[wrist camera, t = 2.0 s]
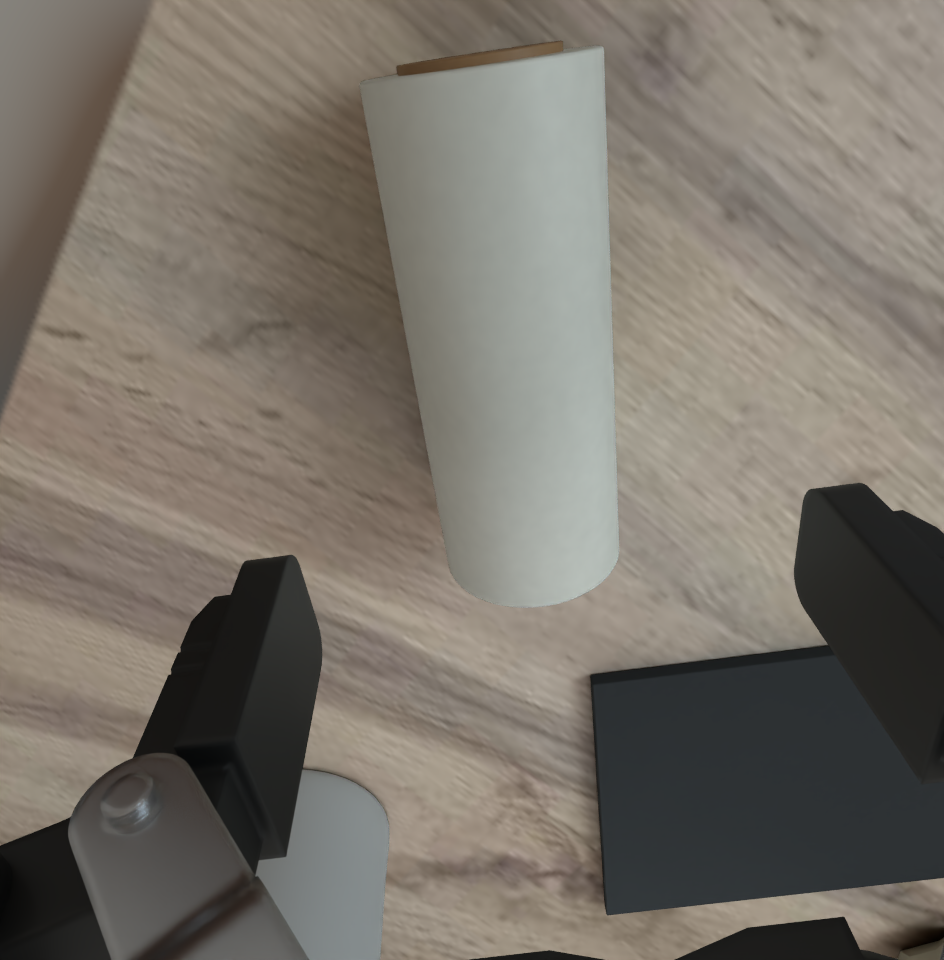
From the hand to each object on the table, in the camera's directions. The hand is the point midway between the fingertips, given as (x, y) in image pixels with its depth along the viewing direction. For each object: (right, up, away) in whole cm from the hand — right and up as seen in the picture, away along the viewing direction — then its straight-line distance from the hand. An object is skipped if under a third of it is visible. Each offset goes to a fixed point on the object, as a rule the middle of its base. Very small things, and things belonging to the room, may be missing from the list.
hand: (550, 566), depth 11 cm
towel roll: (0, +6, +11) cm, 13 cm away
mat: (+15, -13, +23) cm, 31 cm away
